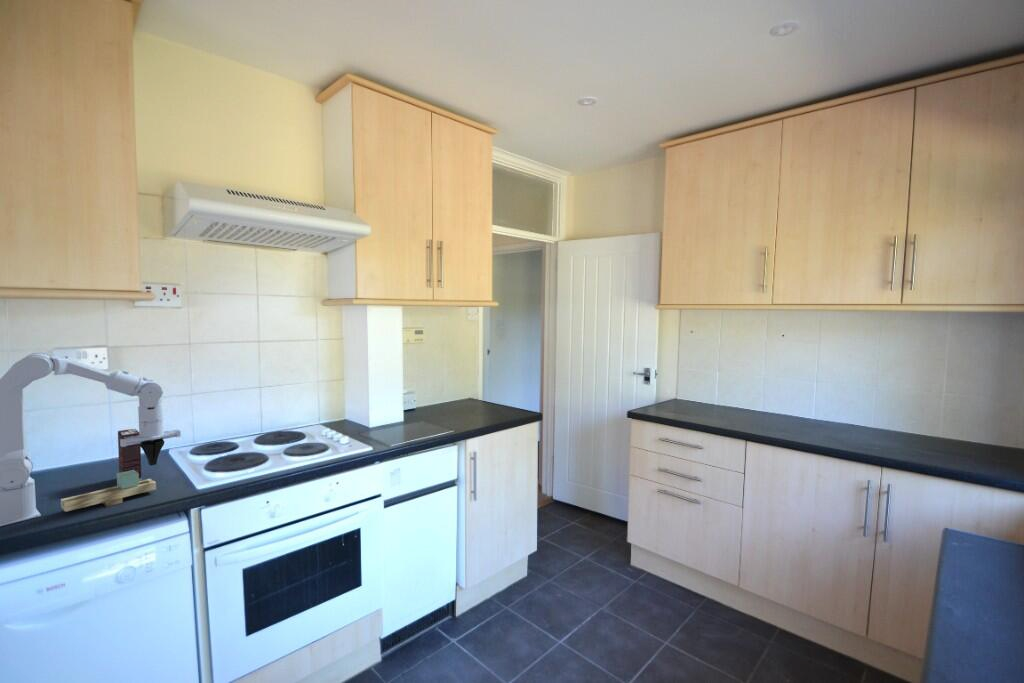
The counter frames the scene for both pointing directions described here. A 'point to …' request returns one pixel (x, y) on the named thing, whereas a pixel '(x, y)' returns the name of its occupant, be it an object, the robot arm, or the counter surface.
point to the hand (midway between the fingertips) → (152, 464)
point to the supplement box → (129, 453)
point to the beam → (106, 496)
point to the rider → (127, 479)
